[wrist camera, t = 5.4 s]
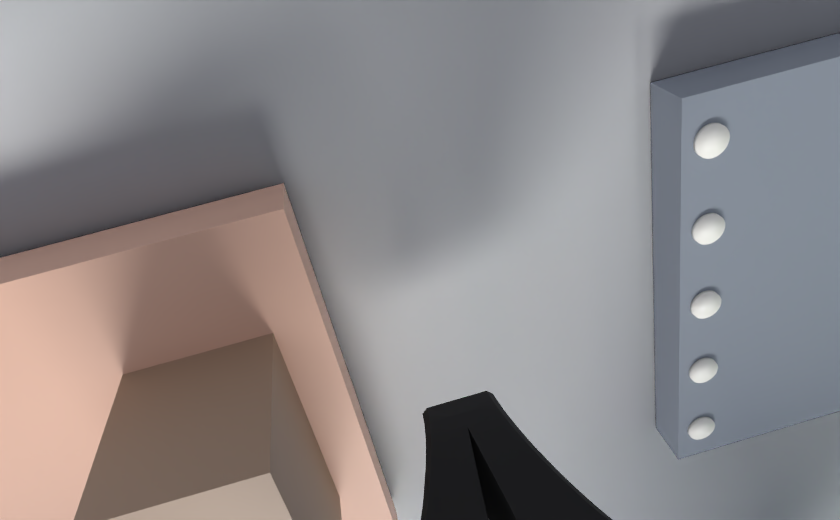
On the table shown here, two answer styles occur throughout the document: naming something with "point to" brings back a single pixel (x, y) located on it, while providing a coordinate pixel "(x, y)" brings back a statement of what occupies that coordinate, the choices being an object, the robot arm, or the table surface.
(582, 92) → the table surface
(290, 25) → the table surface
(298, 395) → the stub
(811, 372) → the board
